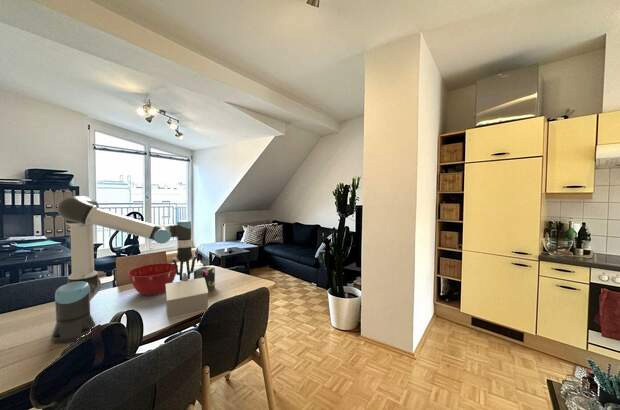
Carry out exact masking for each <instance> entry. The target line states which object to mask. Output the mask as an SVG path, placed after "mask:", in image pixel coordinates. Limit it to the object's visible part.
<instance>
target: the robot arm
mask: <svg viewBox="0 0 620 410" xmlns="http://www.w3.org/2000/svg"><path fill="white" fill-rule="evenodd" d="M57 212H58V215H59V217H61V218H62V219H63V220H65V224H66V225H68V226H69V227H70V252H71V253H70V256H71V257H70V258H71V260H70V261H71V274H69V276H67V283H66V284H63V285H61V286H59V287H58V288H57V289H56V290H55V293H54V302H55V305H54V306H55V321H56V323H55V325H54V328H53V329H52V330H53V331H52V334H51V343H53V342H54V344H58V343H60V344H68V343H72V342H76V341H78V340H77V339H78V338H80V337H81V336H83V335H86V334H88V333H89V332H90V329H91V328H92V327H94V326H95V327H96V322H95V321H94V319H93V317H92V315H91V301H92V299H93V298H94V297H95V296H96V295H97V294H98V293H99V292H100V289H101V285H102V282H101V279H100V277H99V272H98V271H96V270H95V254H94V252H95V251H94V247H95V246H94V225H95V226H99V227H103V228H107V229H111V230H115V231H119V232H120V233H121V232H122V233H126V234H129V235H133V236H137V237H142V238H144V239H145V238H146V239H149V240H152V241H155V242H156V243H158V244H166V243H168V242H169V241H170V240H171V239H172V238H177V239H176V241H177V244H176V246H177V250H176V251H177V255H176V256H175V257H174V258H171V261H172V262H173V264H174V265H175V270H176V276H179V282H180V281H184V275H183V272H184V271H183V268H184V263H186V264H185V265H186V276H187V280H191V274H194V271H195V270H194V269H195V264H196V263H195V262H196V260H197V255H193V253H192V222H191V220H188V219H182V220H177V221H176V223H173V224H172V223H171V224H154V223H153V224H152V223H150V222H145V221H142V220H139V219H136V218H132V217H129V216H127V215H126V216H125V215H122V214H118V213H115V212H112V211H108V210H105V209H100V205H99V202H98V201H97V200H96V199H95V198H93V197H91V196H88V195H76V196H74V195H73V196H68V197H66V198H63V199H62V200H61V201H60V202H59V203H58V205H57ZM191 259H192V260H191ZM190 260H191V267H190ZM177 261H179V266H178V267H177V265H178V263H177Z"/></svg>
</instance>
